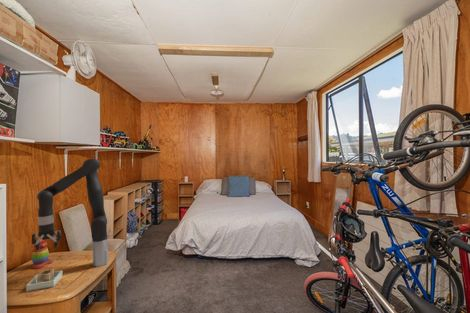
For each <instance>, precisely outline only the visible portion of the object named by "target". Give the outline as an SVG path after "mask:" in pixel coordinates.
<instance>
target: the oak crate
mask: <svg viewBox="0 0 470 313" xmlns="http://www.w3.org/2000/svg"><path fill="white" fill-rule="evenodd" d="M54 270H55V269H54V268H52V269H46V270H41V271H40V272H39V273H37V274H38V275H37V274H36V275H37V283H41V282H47V281H52V280H53V279H54V272H55V271H54Z"/></svg>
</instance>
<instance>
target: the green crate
mask: <svg viewBox="0 0 470 313" xmlns="http://www.w3.org/2000/svg"><path fill="white" fill-rule="evenodd" d="M38 274H39V273H37V274H36V275H35V276H34V277H33V278H32V279H31V280H30V281H29V282H28V283H27V284H26V285H25V286H26V287H25V291H26V293H27V292H31V291H36V290H37V291H38V290H43V289H49V288H54V287H55V286H56V285H57V283H58V282H59V281H60V280H61V278H62V277H63V275H64V274H63V270H61V269H60V270H57V271H56V270H55V271H54V279H53V280H52V281H47V282H41V283H37V275H38Z"/></svg>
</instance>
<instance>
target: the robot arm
mask: <svg viewBox="0 0 470 313" xmlns="http://www.w3.org/2000/svg"><path fill="white" fill-rule="evenodd" d="M100 167H101V162H100V160H98V159H97V158H87V159H85V160H84V161H83V163H82V165H81V166H80V167H78V168H77V169H76V170H74V171H73V172H71V173H69V174H67V175H65V176H63V177H61V178H60V179H58V180H57V181H56V182H54V183H53V184H51V185H49V186H47V187H46V188H44V189H42V190H41V191H39V192H38V193H37V195H36V199H37V200H38V210H37V215H38V217H37V218H38V220H37V226H38V232H37V233H36V232H34V233H33V234H31V244H32V245H34V244H36V249H37V250H40V241H41V240H42V239H43V240H45V241H46V240H52V241H53V248H54V249H56V248H58V247H59V241H60V240H62V231H61V230H60V229H59V230H55V219H54V209H53V206H54V197H55V196H56V195H58V194H61V193H62V192H64V191H65V190H67V189H69V188H70V187H71V186H73V185H74V184H75V183H77V182H78V181H80V180H81V179H83V178H84V177H85V180H86V191H87V192H86V194H87V198H88V199H87V200H88V203H89V205H90V208H91V210H92V219H93V220H92V222H91V225H90V228H91V244H92V246H91V248H92V266H93V267H95V268H96V267H102V266H104V265H108V263H109V260H110V259H109V247H108V230H107V229H108V226H107V225H108V218H107V216H106V215H107V214H106V211H105V201H104V200H105V198H104V192H103V187H102V185H101V182H100V180H99V177H98V170H99V169H100ZM56 236H57V237H56ZM37 237H39V238H38V240H37Z"/></svg>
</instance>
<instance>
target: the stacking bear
mask: <svg viewBox="0 0 470 313" xmlns="http://www.w3.org/2000/svg"><path fill="white" fill-rule="evenodd" d="M47 246H48V241H46V239H45V240H43V239H42V240H41V241H40V250H37V249H36V244H33V247H34V249H33V251H32V253H31V262H32V266H31V267H32V269H36V270H39V269H42V268H44V267H45V266H47V265H50V264H52V263H53V260H52V259H49V256H50V252H49V248H48V247H47Z"/></svg>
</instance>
